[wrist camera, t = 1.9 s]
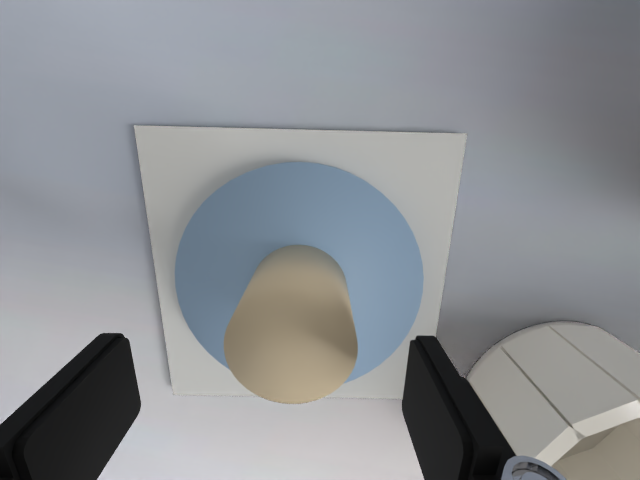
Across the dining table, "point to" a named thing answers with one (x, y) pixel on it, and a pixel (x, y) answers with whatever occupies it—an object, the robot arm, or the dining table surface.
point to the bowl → (565, 398)
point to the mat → (295, 146)
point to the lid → (298, 279)
